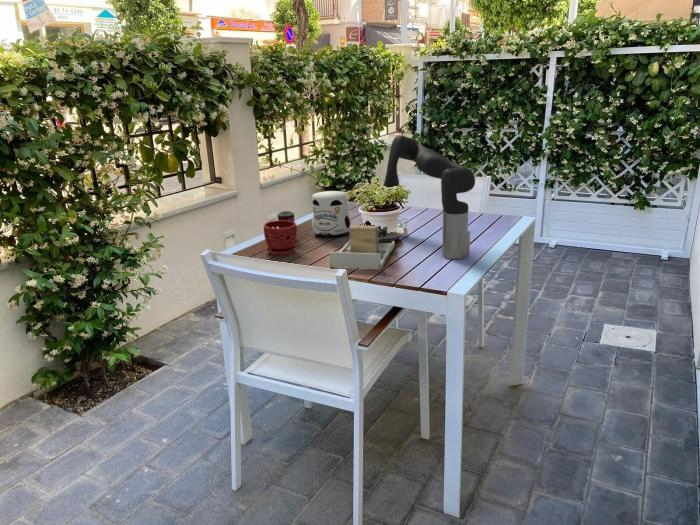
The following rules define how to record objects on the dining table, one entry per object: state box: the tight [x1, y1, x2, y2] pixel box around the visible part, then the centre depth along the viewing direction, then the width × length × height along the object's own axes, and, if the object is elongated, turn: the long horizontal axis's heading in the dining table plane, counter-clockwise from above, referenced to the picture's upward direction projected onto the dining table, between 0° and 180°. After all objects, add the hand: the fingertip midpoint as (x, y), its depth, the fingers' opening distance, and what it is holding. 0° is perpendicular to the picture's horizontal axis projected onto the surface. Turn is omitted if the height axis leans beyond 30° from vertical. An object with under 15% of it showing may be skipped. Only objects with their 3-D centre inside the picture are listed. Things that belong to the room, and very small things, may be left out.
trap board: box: [328, 239, 396, 271], centre depth 208 cm, size 30×19×6 cm, turn 166°
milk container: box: [311, 190, 352, 238], centre depth 239 cm, size 17×17×18 cm
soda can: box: [277, 210, 296, 228], centre depth 233 cm, size 7×7×12 cm
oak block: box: [349, 224, 379, 254], centre depth 208 cm, size 5×10×10 cm, turn 76°
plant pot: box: [263, 219, 298, 256], centre depth 217 cm, size 13×13×12 cm
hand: (365, 236), depth 210 cm, fingers open, 8 cm apart
